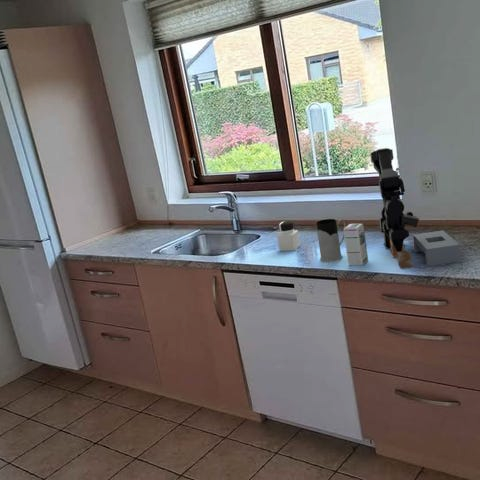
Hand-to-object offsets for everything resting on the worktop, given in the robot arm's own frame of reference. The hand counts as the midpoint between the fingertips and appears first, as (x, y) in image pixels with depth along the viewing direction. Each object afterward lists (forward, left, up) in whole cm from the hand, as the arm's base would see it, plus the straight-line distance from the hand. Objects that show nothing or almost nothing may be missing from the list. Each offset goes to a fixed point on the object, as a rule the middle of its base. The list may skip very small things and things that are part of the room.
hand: (397, 250), depth 210 cm
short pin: (0, -13, -2) cm, 13 cm away
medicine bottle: (-40, +31, -2) cm, 51 cm away
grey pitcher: (-22, +10, -2) cm, 24 cm away
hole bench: (+12, -6, -2) cm, 14 cm away
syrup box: (-15, -2, -2) cm, 15 cm away
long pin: (0, 0, -2) cm, 2 cm away
